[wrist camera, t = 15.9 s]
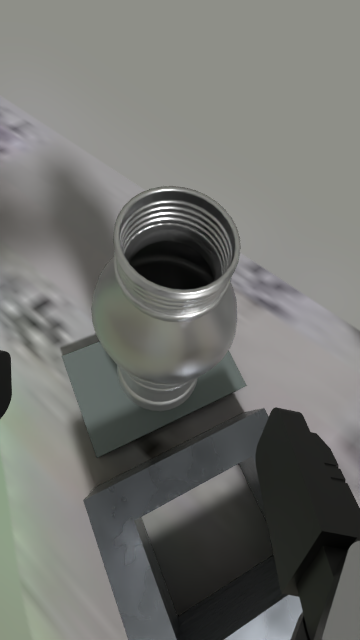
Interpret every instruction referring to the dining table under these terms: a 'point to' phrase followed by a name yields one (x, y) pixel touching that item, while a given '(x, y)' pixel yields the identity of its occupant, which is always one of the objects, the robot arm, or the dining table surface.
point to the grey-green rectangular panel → (123, 414)
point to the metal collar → (140, 561)
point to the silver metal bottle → (167, 294)
